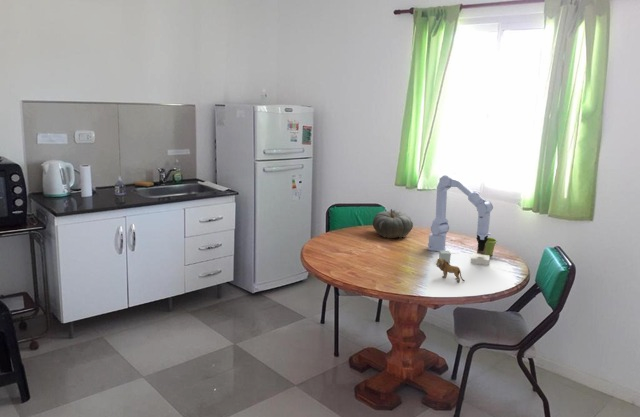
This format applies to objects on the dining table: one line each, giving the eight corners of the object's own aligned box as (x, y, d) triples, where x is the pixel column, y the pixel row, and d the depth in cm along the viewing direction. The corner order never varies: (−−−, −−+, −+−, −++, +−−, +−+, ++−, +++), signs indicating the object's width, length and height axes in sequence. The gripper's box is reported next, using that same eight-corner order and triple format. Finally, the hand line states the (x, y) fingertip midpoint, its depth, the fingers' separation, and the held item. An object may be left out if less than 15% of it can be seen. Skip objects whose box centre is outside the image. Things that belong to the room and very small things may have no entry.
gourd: (399, 224, 327) (400, 200, 320) (420, 240, 306) (422, 214, 299) (366, 231, 318) (366, 207, 311) (385, 248, 297) (386, 222, 290)
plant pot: (496, 257, 269) (498, 242, 267) (478, 256, 270) (479, 241, 269) (494, 252, 278) (495, 238, 276) (476, 251, 279) (478, 236, 278)
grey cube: (440, 262, 260) (441, 253, 259) (438, 259, 265) (439, 250, 264) (450, 262, 260) (450, 253, 258) (448, 259, 264) (448, 250, 263)
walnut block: (477, 253, 260) (477, 244, 259) (477, 251, 263) (478, 242, 262) (485, 254, 259) (485, 245, 257) (485, 252, 262) (486, 243, 261)
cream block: (470, 263, 259) (471, 258, 259) (471, 258, 268) (471, 253, 267) (488, 265, 257) (489, 260, 256) (489, 260, 265) (489, 255, 264)
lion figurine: (433, 276, 238) (434, 258, 236) (438, 273, 242) (439, 256, 240) (462, 283, 229) (464, 265, 227) (467, 280, 233) (468, 262, 232)
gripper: (491, 228, 250) (489, 254, 253) (491, 222, 263) (489, 246, 266) (476, 227, 252) (474, 252, 255) (477, 221, 265) (475, 245, 268)
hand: (481, 249), depth 261 cm, fingers closed on walnut block, 4 cm apart
